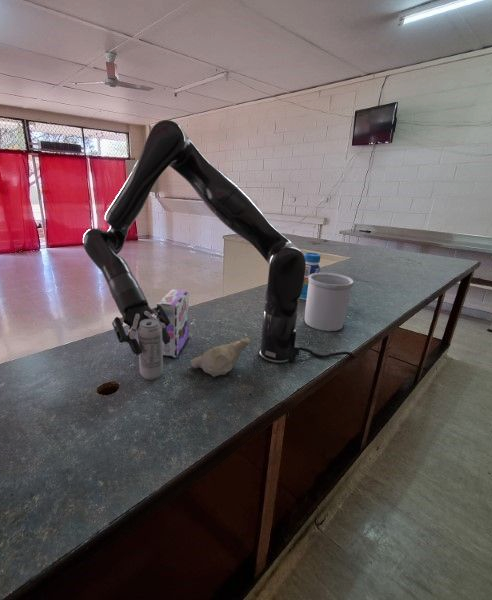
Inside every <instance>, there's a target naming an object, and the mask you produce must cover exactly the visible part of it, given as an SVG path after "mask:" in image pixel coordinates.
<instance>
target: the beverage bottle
mask: <svg viewBox="0 0 492 600" xmlns="http://www.w3.org/2000/svg"><path fill="white" fill-rule="evenodd" d="M304 256H305V259H306V270H305V277H304V283H303V289H302V294H301V296H300V299H299V300H303V301H306V300H307V292H308V284H309V280H308V278H309V275H310V274H313V273H321V267H320V265H319V263H320V262H321V254H320V253H317V252H305V253H304Z"/></svg>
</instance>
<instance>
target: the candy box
mask: <svg viewBox="0 0 492 600" xmlns="http://www.w3.org/2000/svg"><path fill="white" fill-rule="evenodd" d="M158 305H160V306H161V307H162V309H163V310H164V312H165V314H166V316H167V317H168V319H169V321H170V324H169V325H168V326H167V327H166V330H167V332H168V334H169V336H170V342H169V343H168V344H166V345H165V344H164V342H163V340H162V347H163V357H167V358H173V359H174V358H175V359H176V358H177V357H178V356H179V354H180V353H181V351H182V349H183V348H184V346H185V344H186V342H187V340H188V338H189V290H183V289H173V288H172V289H170V291H169V292H167V293H166V294H165V296H163V297H162V298H161V300H159V301H158V302H157V303H156V307H157V306H158ZM156 318H157V319H158V317H157V316H156Z"/></svg>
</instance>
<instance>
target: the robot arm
mask: <svg viewBox="0 0 492 600" xmlns="http://www.w3.org/2000/svg"><path fill="white" fill-rule="evenodd" d="M168 167H170V168H171V169H172V170H173V171H175V172H176V173H177V174H179V175H180V176H181V177H182V178H183V179H184V180H185V181H186V182H187V183H188V184H189V185H190V186H191V188H192V189H193V190H194V191H195V193H196V194H197V196H198V197H199V198H200V199H201V201H202V202H203V203H204V204H205V206H206V208H208V210H210V212H211V213H212V214H213V215H214V216H215V217H217V219H218V220H219V221H220V222H221V223H222V224H223V225H224V226H226V227H227V228H228V229H229V230H231V231H232V232H233V233H234V234H237V235H238V236H239V237H241V238H243V240H245V241H247V242H248V243H249V244H251V246H253V247H254V248H255V249H256V251H257V252H258V253H260V255H261V256H262V257H263V259H264V260H265V261H266V263H267V264H268V276H267V286H266V290H265V299H264V306H263V307H264V308H263V317H262V318H263V320H262V330H261V338H260V348H259V356H260V357H261V358H262V359H263V360H265V361H267V362H268V363H273V364H285V363H292V362H293V360H294V356H298V357H299V355H300V351H303V352H306V353H309V354H310V355H311V356H313V357H316V358H320V359H327V358H331V357H338V356H342V355H347V356H350V357H351V358H353V359H355V358H357V357H356V355H355V354H354V353H352V352H350V351H344V350H343V351H337V352H331V353H328V354H320V353H316V352H315V351H313V350H311V349H309V348H307V347H301V346H300V344H299V340H296V337H297V329H296V326H297V320H298V319H297V318H298V312H299V304H300V300H301V299H300V296H301V294H302V289H303V283H304V277H305V270H306V259H305V256H304V255H305V253H303V251H302V250H301V249H300V248H299V246H297V245H296V244H295V243H293V242H292V241H291V240H289V239H288V238H287V237H286V236H285V235H283V234H282V233H281V232H279V230H277V229H276V228H275V227H274V226H273V225H272V223H270V222H269V220H268V219H267V218H266V216H265V215H264V214H263V213H262V211H261V210H260V208H258V206H257V205H256V203H255V202H253V200H252V199H251V198H250V196H248V194H246V193H245V191H244V190H242V188H241V187H239V185H238V184H236V183H235V182H234V181H233V180H232V179H231V178H230V177H228V176H227V175H226V174H225V172H222V171H221V170H220V169H218V168H217V167H216V166H214V165H213V164H212V163H211V162H210V161H208V160H207V158H205V156H204V155H203V154H202V153H201V152H200V150H199V149H198V147H196V146H195V144H194V143H193V141H191V139H190V137H189V136H188V135H187V133H186V132H185V130H184V129H183V127H182V126H181V125H180V124H178V123H177V122H176V121H173V120H169V119H162V120H159V121H158V122H156V123H154V124H153V126H152V128H151V129H150V131H149V133H148V136H147V137H146V140H145V142H144V144H143V147H142V150H141V152H140V154H139V157H138V159H137V161H136V162H135V165H134V166H133V168H132V171H131V173H130V174H129V176H128V178H127V179H126V181H125V182H124V184H123V186H122V188H121V189H120V191H119V192H118V194H117V195H116V196H115V199H114V200H112V203H111V205H110V206H109V208H108V209H107V210H106V212H105V215H104V220H105V222H106V223H107V224H108V225H109V229H108V230H104V229H100V228H89V229H88V230H86V232H85V233H84V234H83V238H82V244H83V249H84V251H85V253H86V254H87V256H88V257H89V258H90V260H91V261H92V262H93V263H94V265H95V266H96V267H97V268H98V269H99V271H100V272H101V273H102V276H103V278H104V280H105V281H106V284H107V286H108V289H109V292H110V294H111V297H112V299H113V301H114V303H115V305H116V307H117V310H118V312H119V313H120V314H121V316H122V317H119V316H116V317H114V319H113V321H111V324H112V327H113V329H114V332H115V335H116V337H117V339H118V342H119V343H120V344H122V343H126V344H128V345H129V347H130V349H131V352H132V353H133V354H134V355H136V356H139V355H140V354H141V353H142V350H141V348H140V346H139V344H138V339H137V338H135V337H136V333H137V332H138V327H139V325H140V322H141V321H142V320H144V319H156V320H158V321H159V324H160V325H161V327H162V340H163V342H164V344H165V345H166V344H168V343H169V342H170V336H169V334H168V332H167V330H166V327H167V326H168V325H169V324H170V321H169V319H168V317H167V316H166V314H165V312H164V310H163V309H162V307H161V306H160V305H158V306H157V305H156V306H155V307H152V308H151V307H150V306H149V303H148V299H147V298H146V296H145V294H144V292H143V290H142V288H141V285H140V284H139V282H138V279H137V278H136V277H135V276H134V274H133V272H132V270H131V268H130V265H129V264H128V262H127V261H126V259H125V258H124V257H123V256H120V255H119V253H121V251H122V250H123V247H124V246H125V242H126V240H127V237H128V233H129V230H130V228H131V227H132V226H133V224H134V223H135V221H136V219H137V218H138V216H139V215H140V213H141V212H142V211H143V208H144V207H145V205H146V203H147V200H148V198H149V196H150V193H151V192H152V190H153V187H154V186H155V184H156V182H157V181H158V180H159V178H160V177H161V175H162V174H163V173H164V172H165V170H166V169H167V168H168ZM157 317H158V319H157ZM124 324H125V325H126V326H128V330H127V333H126V331H125V328H124Z"/></svg>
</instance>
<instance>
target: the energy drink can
mask: <svg viewBox="0 0 492 600" xmlns="http://www.w3.org/2000/svg"><path fill="white" fill-rule="evenodd" d="M137 342H138V344H139V346H140V348H141V350H142V353H141V354H140V355H138V361H139V363H138V364H139V374H140V375H141V376H142V378H144V379H146V380H149V381H150V380H155V379H159V378H160V377H161V376H162V374H163V373H164V356H163V347H162V327H161V325H160V324H159V321H158V320H156V319H144V320H142V321H141V322H140V325H139V327H138V331H137Z"/></svg>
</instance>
